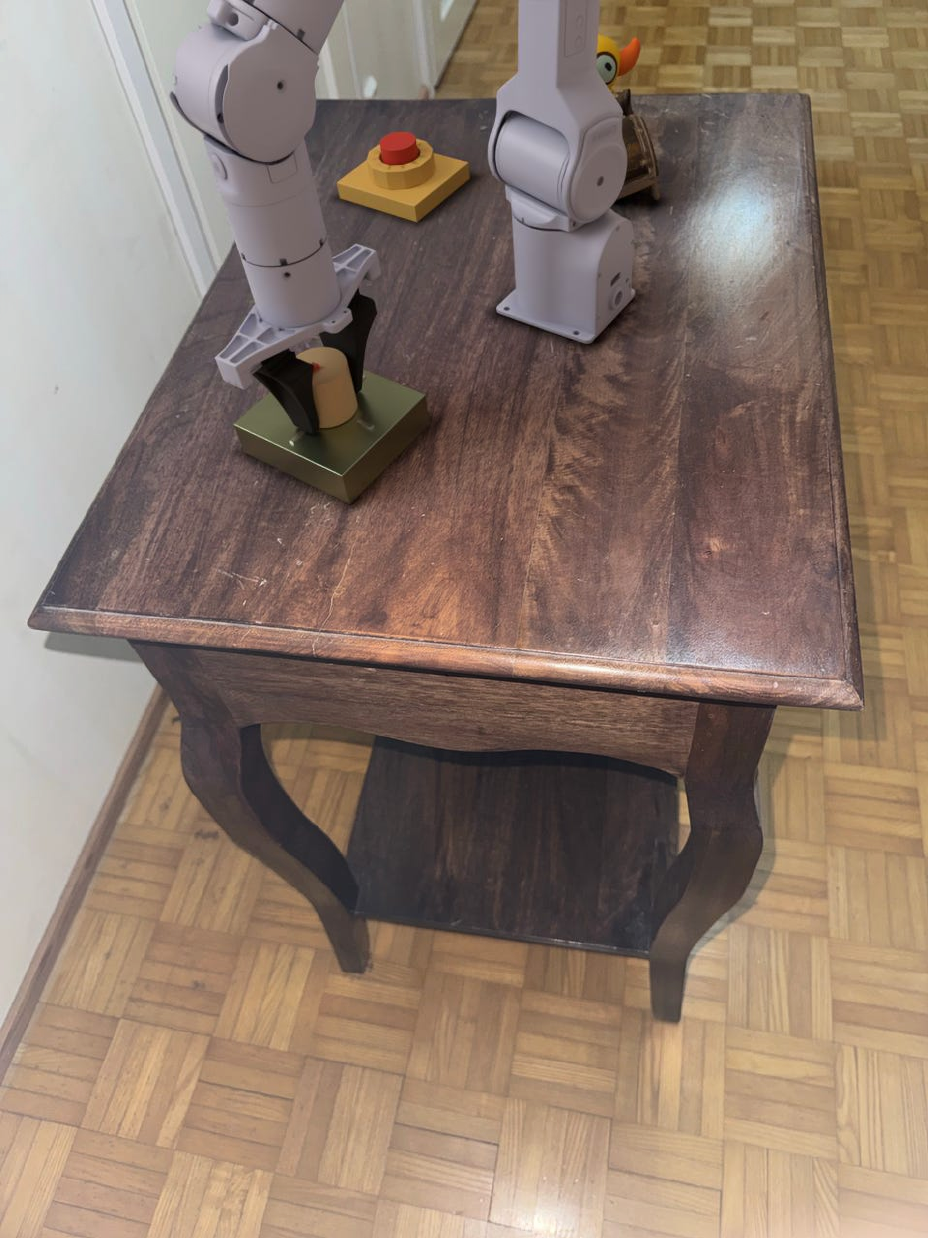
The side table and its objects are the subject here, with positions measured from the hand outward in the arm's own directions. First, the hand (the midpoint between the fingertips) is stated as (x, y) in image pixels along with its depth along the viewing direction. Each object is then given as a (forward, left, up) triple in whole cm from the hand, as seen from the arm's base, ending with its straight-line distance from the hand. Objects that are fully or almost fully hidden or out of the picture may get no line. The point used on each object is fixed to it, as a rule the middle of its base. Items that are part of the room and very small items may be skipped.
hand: (328, 406), depth 69 cm
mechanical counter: (0, -39, -3) cm, 39 cm away
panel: (0, 0, -3) cm, 3 cm away
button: (+18, -32, 0) cm, 37 cm away
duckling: (+6, -47, -3) cm, 48 cm away
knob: (0, 0, 0) cm, 0 cm away
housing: (+18, -32, -3) cm, 37 cm away
